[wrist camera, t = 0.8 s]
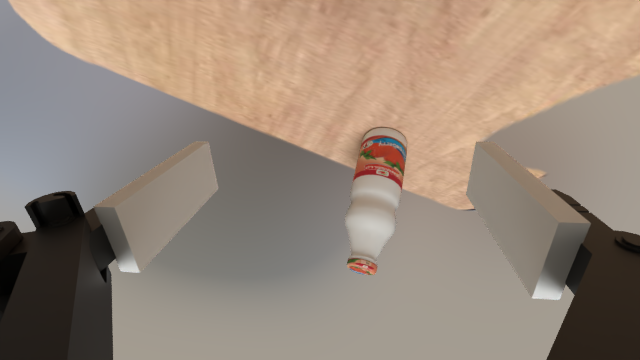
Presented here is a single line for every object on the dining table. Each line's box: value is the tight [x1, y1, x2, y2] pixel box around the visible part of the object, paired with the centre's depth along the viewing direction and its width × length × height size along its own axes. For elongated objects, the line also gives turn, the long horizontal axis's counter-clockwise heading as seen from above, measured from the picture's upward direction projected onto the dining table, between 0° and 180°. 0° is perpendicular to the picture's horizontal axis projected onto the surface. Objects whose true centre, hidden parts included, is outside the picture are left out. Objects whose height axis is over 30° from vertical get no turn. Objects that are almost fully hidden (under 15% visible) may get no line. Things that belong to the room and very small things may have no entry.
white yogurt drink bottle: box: [345, 128, 407, 275], centre depth 57 cm, size 9×9×28 cm
